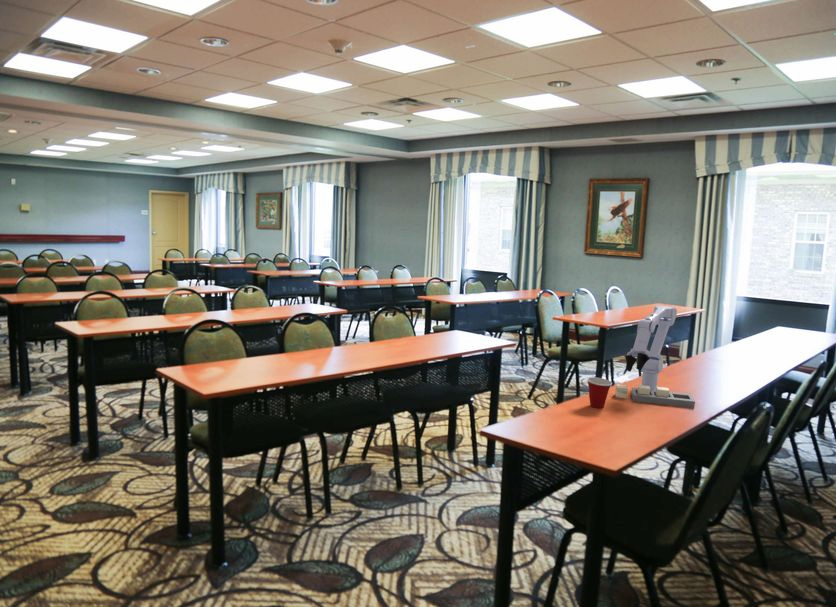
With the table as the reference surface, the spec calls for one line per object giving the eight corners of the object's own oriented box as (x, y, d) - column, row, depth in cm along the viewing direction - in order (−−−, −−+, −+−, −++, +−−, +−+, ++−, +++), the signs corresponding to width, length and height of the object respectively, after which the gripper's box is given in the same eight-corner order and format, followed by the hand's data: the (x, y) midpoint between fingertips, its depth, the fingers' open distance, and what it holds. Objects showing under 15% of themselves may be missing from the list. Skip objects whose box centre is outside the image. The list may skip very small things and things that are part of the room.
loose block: (615, 394, 288) (616, 384, 288) (626, 395, 287) (627, 385, 286) (615, 397, 283) (616, 387, 283) (626, 398, 282) (627, 388, 281)
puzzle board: (631, 393, 290) (632, 382, 289) (689, 400, 283) (690, 388, 282) (633, 401, 278) (634, 389, 277) (694, 408, 271) (695, 395, 270)
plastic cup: (605, 411, 260) (607, 384, 258) (581, 406, 266) (583, 380, 265) (613, 406, 269) (616, 380, 267) (590, 401, 275) (592, 375, 273)
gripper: (624, 341, 290) (616, 367, 286) (644, 338, 276) (636, 365, 272) (636, 347, 291) (629, 373, 287) (656, 344, 277) (648, 371, 274)
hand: (633, 370), depth 280 cm, fingers open, 7 cm apart
